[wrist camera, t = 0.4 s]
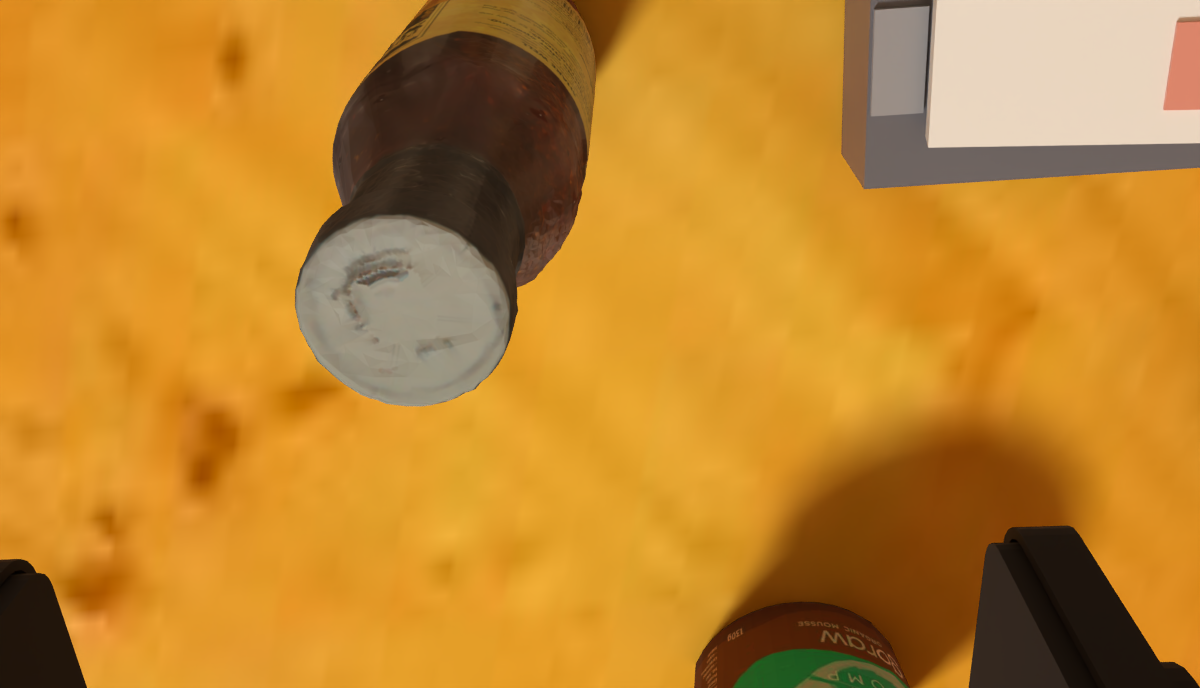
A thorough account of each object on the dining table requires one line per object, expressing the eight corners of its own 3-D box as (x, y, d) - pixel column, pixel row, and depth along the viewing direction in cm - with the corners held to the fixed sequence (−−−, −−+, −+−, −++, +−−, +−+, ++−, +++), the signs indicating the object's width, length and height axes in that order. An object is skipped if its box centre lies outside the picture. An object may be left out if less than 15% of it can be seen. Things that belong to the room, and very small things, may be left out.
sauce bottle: (428, -56, 36) (234, 77, 18) (614, -17, 36) (607, 150, 18) (404, 136, 39) (217, 416, 21) (578, 170, 39) (541, 473, 21)
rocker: (931, -17, 32) (937, -5, 30) (1227, -31, 31) (1253, -19, 29) (923, 128, 34) (928, 148, 32) (1200, 123, 33) (1224, 144, 31)
